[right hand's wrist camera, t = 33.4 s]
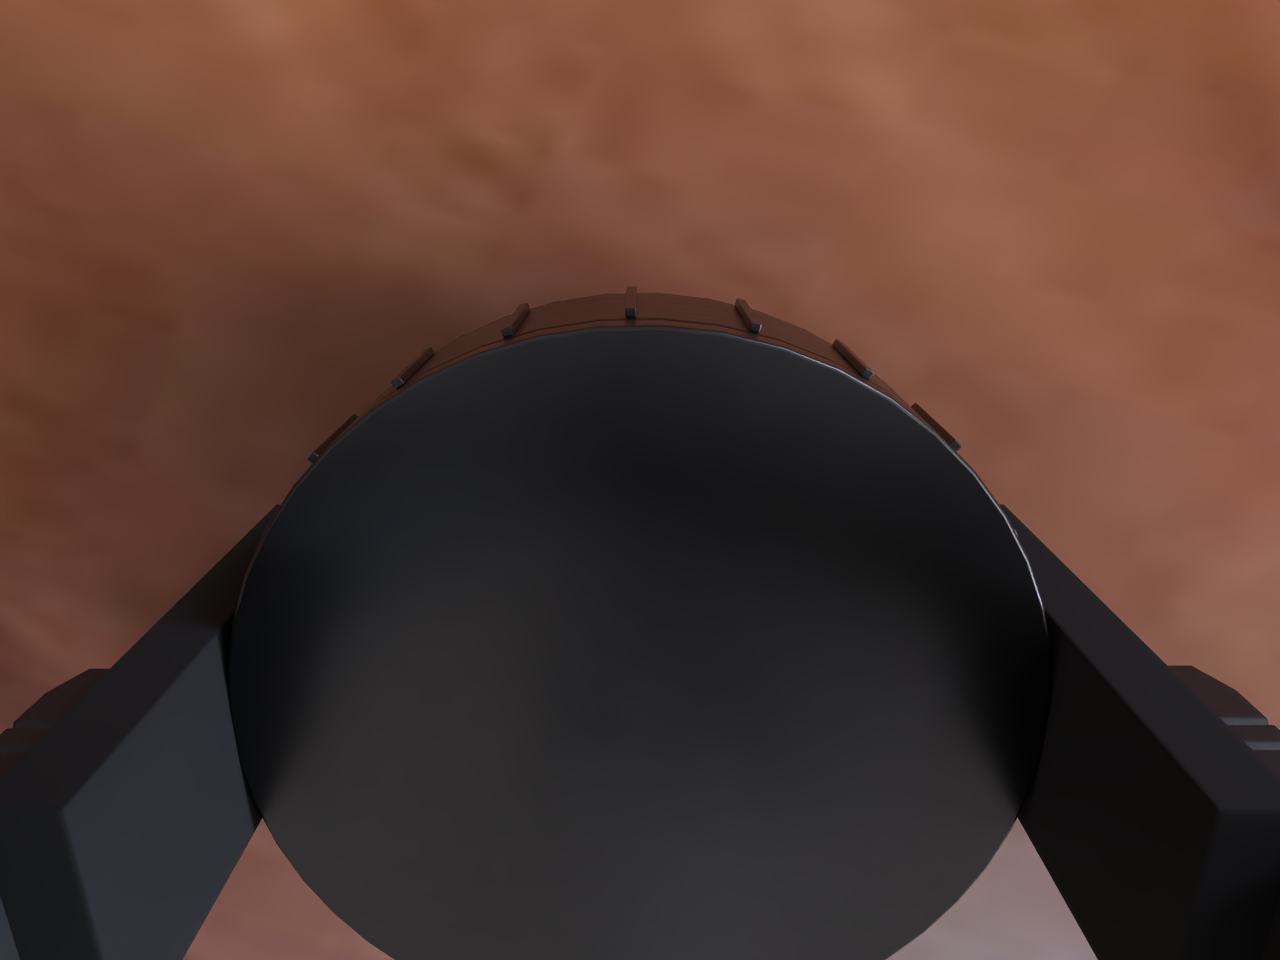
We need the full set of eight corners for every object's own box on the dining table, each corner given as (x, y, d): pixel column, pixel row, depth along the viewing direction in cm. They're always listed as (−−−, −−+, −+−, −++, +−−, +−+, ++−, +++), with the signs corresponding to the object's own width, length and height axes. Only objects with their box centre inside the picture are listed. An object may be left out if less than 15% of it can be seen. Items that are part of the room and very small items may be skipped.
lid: (362, 927, 14) (317, 1056, 12) (210, 322, 11) (113, 362, 9) (974, 885, 14) (1031, 1010, 12) (1005, 251, 10) (1090, 275, 8)
